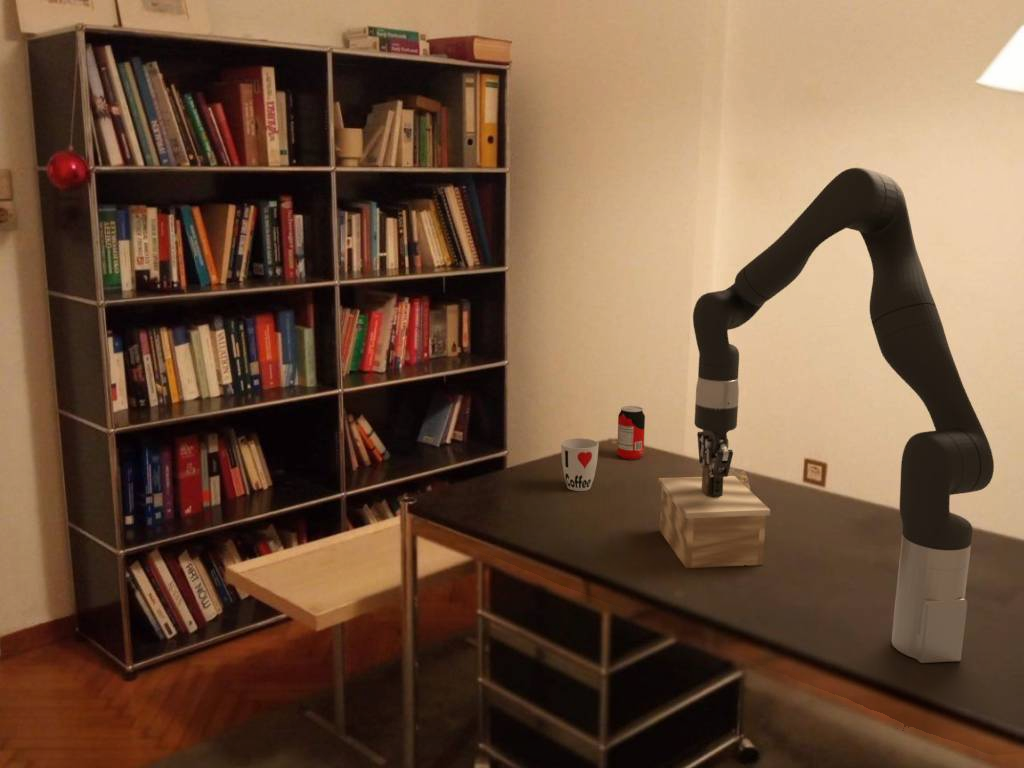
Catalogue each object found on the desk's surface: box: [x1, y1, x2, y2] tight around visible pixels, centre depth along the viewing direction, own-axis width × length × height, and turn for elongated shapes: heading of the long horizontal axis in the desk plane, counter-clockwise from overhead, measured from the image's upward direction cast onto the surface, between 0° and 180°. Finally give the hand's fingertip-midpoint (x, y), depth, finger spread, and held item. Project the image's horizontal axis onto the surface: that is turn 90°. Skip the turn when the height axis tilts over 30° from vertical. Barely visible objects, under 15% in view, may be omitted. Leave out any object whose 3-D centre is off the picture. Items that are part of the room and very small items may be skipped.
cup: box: [560, 437, 600, 492], centre depth 217 cm, size 8×8×10 cm
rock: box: [728, 468, 751, 491], centre depth 215 cm, size 9×6×10 cm
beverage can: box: [616, 405, 646, 461], centre depth 238 cm, size 6×6×12 cm
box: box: [659, 487, 767, 569], centre depth 184 cm, size 18×14×10 cm
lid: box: [658, 465, 771, 518], centre depth 182 cm, size 19×15×6 cm
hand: (711, 492), depth 182 cm, fingers open, 3 cm apart
